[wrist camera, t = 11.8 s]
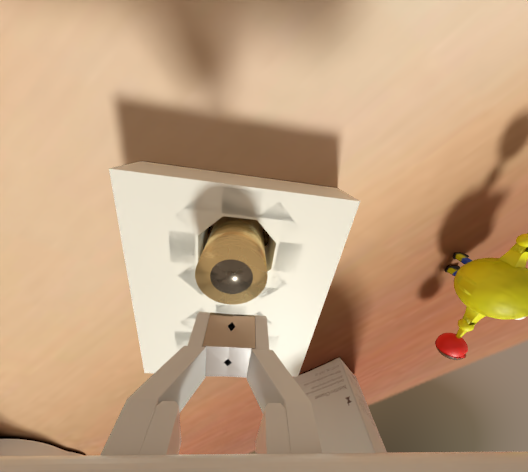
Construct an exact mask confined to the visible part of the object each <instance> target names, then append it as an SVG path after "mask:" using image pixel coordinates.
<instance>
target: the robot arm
mask: <svg viewBox="0 0 528 472" xmlns="http://www.w3.org/2000/svg"><path fill="white" fill-rule="evenodd" d="M226 374H227V375H226ZM205 376H230V377H246V378H247V381H248V383H249V385H250V387H251V389H252V391H253V393H254V395H255V397H256V400H257V402H258V404H259V406H260V408H261V410H262V412H263V417H262V420H261V424H260V428H259V431H258V435H257V438H256V454H191V455H178V454H179V450H180V445H181V430H180V415H179V413H180V412H181V410H182V409H183V407H184V406H185V405H186V403H187V402H188V401H189V399H190V398H191V396H192V395H193V394H194V392H195V391H196V390H197V388H198V387H199V385H200V384H201V383H202V381H203V380H204V379H205ZM0 472H528V452H413V453H322V449H321V445H320V440H319V436H318V431H317V427H316V422H315V417H314V413H313V408H312V404H311V402H310V400H309V399H308V398H307V396H306V395H305V393H304V392H303V391H302V389H301V388H300V387H299V385H298V384H297V382H296V381H295V380H294V378H293V377H292V376H291V374H290V373H289V372H288V370H287V369H286V367H285V366H284V365H283V363H282V362H281V361H280V359H279V358H278V356H277V355H276V354H275V352H274V351H273V350H269V339H268V327H267V317H266V316H258V315H241V314H223V313H212V312H211V313H210V312H198V314H197V317H196V320H195V323H194V326H193V330H192V333H191V336H190V339H189V343H188V346H183V347H182V348H181V349H180V350H179V351H178V352H177V353H176V354H174V355H173V356H172V357H171V358H170V359H169V360H168V361H167V362H166V363H165V364H164V365H163V366H162V367H161V368H160V369H158V370H157V371H156V372H155V373H154V374H153V375H152V376H151V377H150V378H149V379H148V380H147V381H146V382H145V383H144V384H142V385H141V386H140V387H139V388H138V389H137V390H136V391H135V392H134V393H133V394H132V395H131V396H130V397H129V398H128V399H127V400H126V403H125V405H124V407H123V409H122V411H121V413H120V415H119V417H118V419H117V421H116V423H115V426H114V428H113V430H112V432H111V434H110V436H109V438H108V440H107V442H106V444H105V447H104V449H103V451H102V453H101V455H85V456H84V455H82V454H78V453H74V452H69V451H65V450H62V449H60V448H57V447H55V446H52V445H49V444H45V443H41V442H37V441H31V440H23V439H0Z"/></svg>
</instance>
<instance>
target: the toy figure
mask: <svg viewBox="0 0 528 472" xmlns="http://www.w3.org/2000/svg"><path fill="white" fill-rule="evenodd" d="M468 257H469V256H468V255H466V254H463V253H454V256H453V258H454V259H457V260H459V261H460V262H462V263H463V264H465V265H463V266H462V267H461V268H460V267H459V266H448V267H447V268H446V269H445V271H446V272H448V273H450V274H452V275H454V276H455V278H454V288H455V291H456V294H457V295H458V297H459V298H460V300H461V301H462V302H463V303H464V304H465V305H466V306H467V307H466V311H465V314H464V316H463V319H460V320H459V321H458V326H459V327H460V328H459V330H458V332H457V334H453V333H444V334H442V335H440V336H439V337H438V338H437V339H436V342H435V344H436V347H437V349H438V351H439V352H440V353H441V354H442V355H443V356H445V357H447V358H449V359H453V360H459V359H463V358H465V357H466V355H465V354H466V352H467V351H468V347H467V344H466V342H465V341H464V339H463V338H461V337H462V336H463V335H464V334H465V333H466V332H467V331H472V330H473V329H474V325H475V324H476V323H477V322H478V321H479V320H480V319H482V318H483V317H485V316H488V317H491V318H496V319H516V320H520V319H524V318H525V317H526V316H528V269H527V268H525V265H526V262H527V258H528V233H527V234H522V235H520V236H518V237H517V239H516V244H515V245H514V246H513V247H512V248H511V249H510V250H509V251H508V252H507V253H506V254H504V255H503V256H502V257H501V258H482V259H477V260H474V261H472V260H470V259H469V258H468Z"/></svg>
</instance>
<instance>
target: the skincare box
mask: <svg viewBox="0 0 528 472" xmlns="http://www.w3.org/2000/svg"><path fill="white" fill-rule="evenodd" d="M293 378H294V380H295V381H296V382H297V384H298V385H299V387H300V388H301V389H302V391H303V392H304V393H305V395H306V396H307V398H308V399H309V400H310V402H311V404H312V408H313V413H314V417H315V422H316V427H317V431H318V436H319V440H320V445H321V449H322V453H387V452H386V449H385V447H384V444H383V442H382V440H381V437H380V435H379V432H378V430H377V428H376V425H375V422H374V420H373V418H372V415H371V413H370V410H369V408H368V405H367V403H366V401H365V398H364V396H363V393H362V391H361V388H360V386H359V383H358V381H357V378H356V377H355V375H354V374H353V373H352V372H351V371H350V370H349V368H348V367H347V366H346V364H345V363H344V362H343V361H342V360H341V359H340V358H336V359H334V360H332V361H331V362H328V363H326V364H324V365H322V366H320V367H317V368H315V369H313V370H311V371H309V372H306V373H304V374H301V375H298V377H293Z"/></svg>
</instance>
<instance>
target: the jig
mask: <svg viewBox="0 0 528 472" xmlns="http://www.w3.org/2000/svg"><path fill="white" fill-rule="evenodd" d="M109 172H110V177H111V183H112V189H113V195H114V200H115V206H116V212H117V218H118V223H119V229H120V235H121V241H122V246H123V252H124V258H125V264H126V269H127V275H128V281H129V287H130V292H131V298H132V304H133V310H134V315H135V321H136V327H137V333H138V338H139V344H140V350H141V355H142V361H143V367H144V373H155V372H156V371H157V370H158V369H160V368H161V367H162V366H163V365H164V364H165V363H166V362H167V361H168V360H169V359H170V358H171V357H172V356H173V355H174V354H176V353H177V352H178V351H179V350H180V349H181V348H182V347H183V346H188V343H189V339H190V336H191V333H192V330H193V326H194V323H195V320H196V317H197V314H198V312H210V313H211V312H212V313H223V314H241V315H258V316H266V317H267V327H268V339H269V350H273V351H274V352H275V354H276V355H277V356H278V358H279V359H280V361H281V362H282V363H283V365H284V366H285V367H286V369H287V370H288V372H289V373H290V374H291V376H292V377H298V375H299V372H300V370H301V367H302V364H303V361H304V358H305V355H306V353H307V350H308V347H309V344H310V341H311V339H312V336H313V333H314V330H315V327H316V324H317V322H318V319H319V316H320V313H321V310H322V308H323V305H324V302H325V299H326V296H327V293H328V291H329V288H330V285H331V282H332V279H333V277H334V274H335V271H336V268H337V265H338V262H339V260H340V257H341V254H342V251H343V248H344V246H345V243H346V240H347V237H348V234H349V231H350V229H351V226H352V223H353V220H354V217H355V215H356V212H357V209H358V206H359V203H360V201H359V200H357V199H355V198H354V197H352V196H350V195H349V194H347V193H345V192H344V191H342V190H340V189H339V188H334V187H327V186H320V185H312V184H305V183H298V182H290V181H283V180H276V179H268V178H261V177H254V176H246V175H239V174H232V173H224V172H217V171H210V170H203V169H195V168H188V167H181V166H173V165H166V164H159V163H151V162H144V161H139V162H135V163H131V164H126V165H122V166H118V167H114V168H109ZM223 216H226V217H235V218H244V219H253V220H257V221H258V222H259V223H260V224H261V225H262V227H263V228H264V229H265V230H266V231H267V233H268V234H269V239H268V245H266V246H265V256H266V265H267V275H268V278H267V283H266V286H265V288H264V289H263V291H262V292H261V293H260V294H259V295H258V296H257V297H256V298H254V299H252V300H251V301H248V302H246V303H242V304H234V305H232V304H223V303H219V302H216V301H214V300H212V299H210V298H209V297H207V296H206V295H205V294H204V293H203V292H202V291H201V290H200V289H199V287H198V285H197V283H196V279H195V270H196V266H197V264H198V261H199V259H200V257H201V254H202V252H203V250H204V247H205V245H206V243H207V240H208V227H210V226H211V225H212V224H214V223H215V222H216V221H217V220H219V219H220V218H221V217H223ZM226 375H227V374H226Z"/></svg>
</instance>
